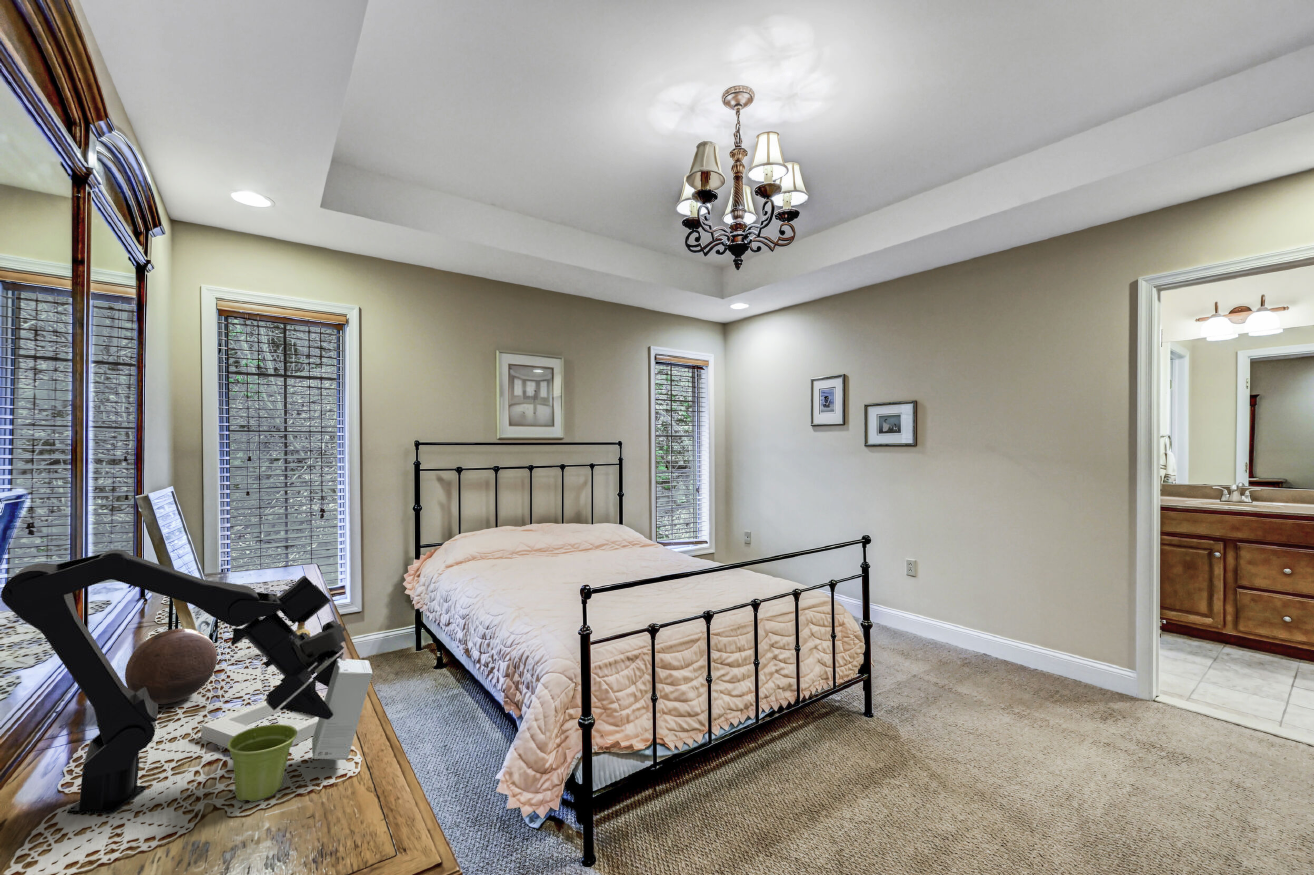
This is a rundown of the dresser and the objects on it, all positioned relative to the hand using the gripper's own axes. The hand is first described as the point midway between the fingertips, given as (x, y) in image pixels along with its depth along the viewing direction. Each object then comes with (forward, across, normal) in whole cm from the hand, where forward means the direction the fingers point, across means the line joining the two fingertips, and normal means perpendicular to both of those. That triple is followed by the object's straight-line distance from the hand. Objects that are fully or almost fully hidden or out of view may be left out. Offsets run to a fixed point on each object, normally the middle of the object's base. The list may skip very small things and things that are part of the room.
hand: (340, 705), depth 103 cm
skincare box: (+4, 0, +6) cm, 8 cm away
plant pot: (+1, -8, +13) cm, 16 cm away
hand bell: (-13, +57, +28) cm, 65 cm away
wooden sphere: (-23, +27, +38) cm, 52 cm away
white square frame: (-3, +14, +18) cm, 23 cm away
